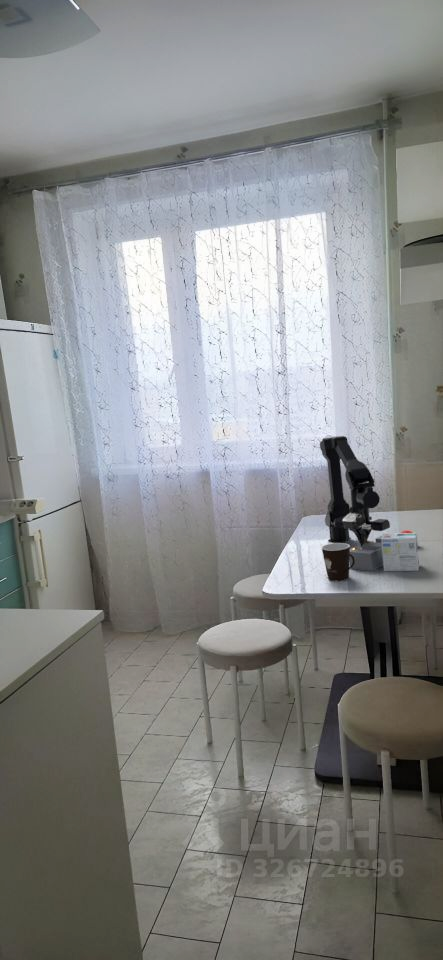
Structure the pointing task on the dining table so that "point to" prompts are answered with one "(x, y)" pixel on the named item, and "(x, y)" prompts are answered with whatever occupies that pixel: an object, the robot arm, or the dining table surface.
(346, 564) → the coffee mug
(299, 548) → the dining table surface
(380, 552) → the mount
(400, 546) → the light bulb box
